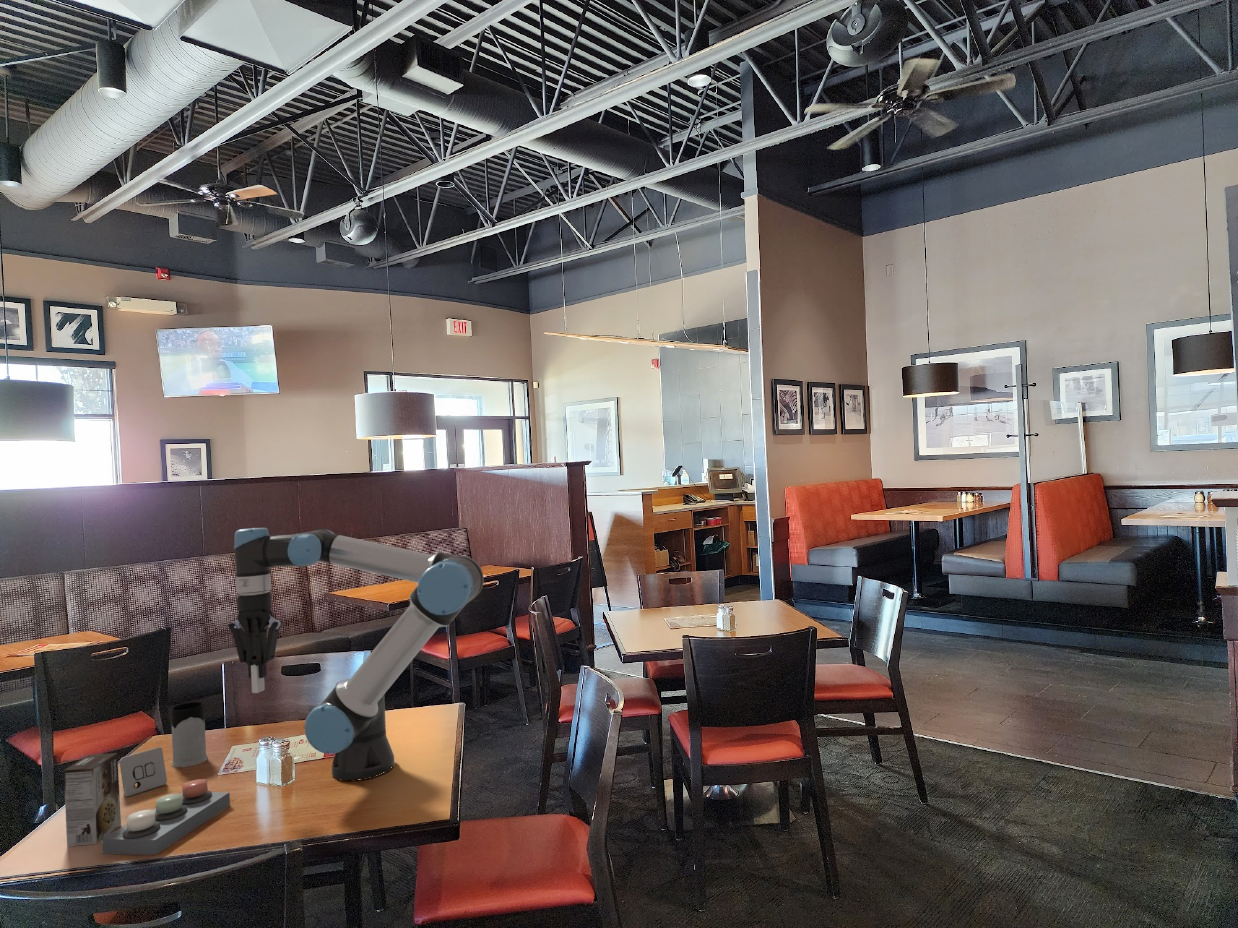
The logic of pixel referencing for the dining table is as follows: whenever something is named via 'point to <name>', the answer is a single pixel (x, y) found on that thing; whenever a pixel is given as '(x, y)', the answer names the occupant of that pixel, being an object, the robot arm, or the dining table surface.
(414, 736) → the dining table surface
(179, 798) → the green button
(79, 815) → the cookie box
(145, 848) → the button panel
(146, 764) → the electrical switch
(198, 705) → the glass holder
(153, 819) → the cream button
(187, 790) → the red button
